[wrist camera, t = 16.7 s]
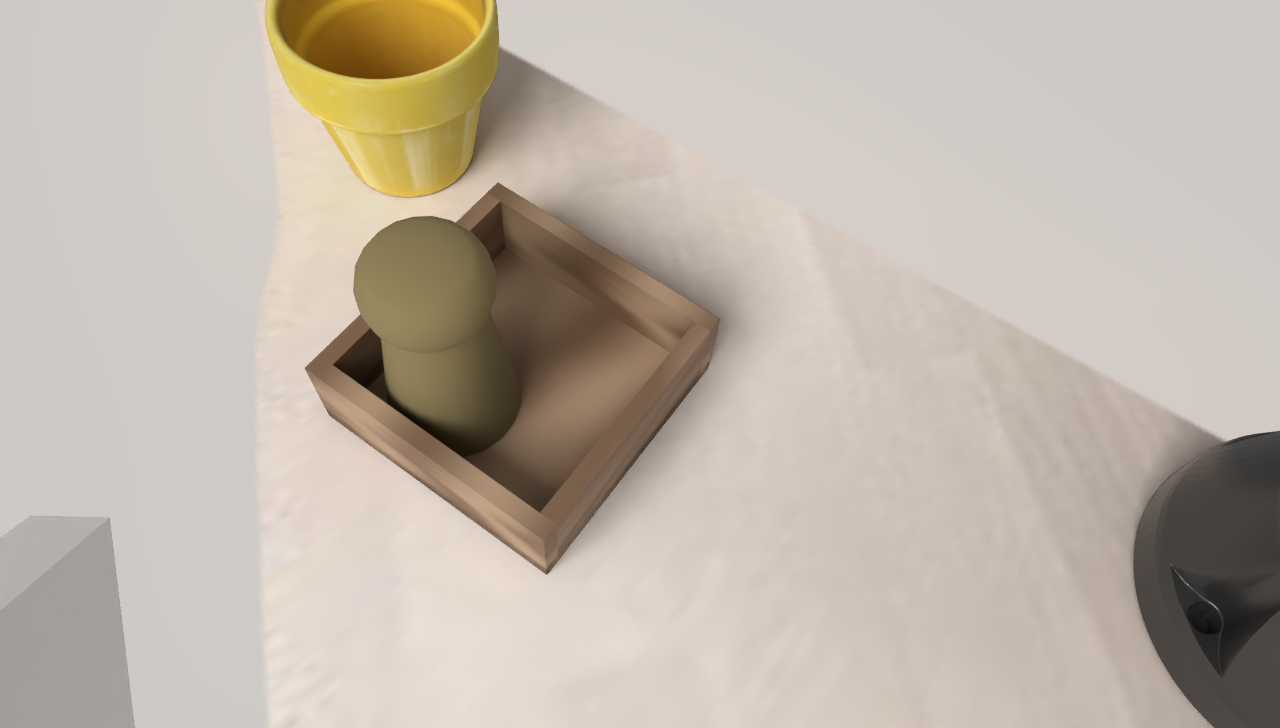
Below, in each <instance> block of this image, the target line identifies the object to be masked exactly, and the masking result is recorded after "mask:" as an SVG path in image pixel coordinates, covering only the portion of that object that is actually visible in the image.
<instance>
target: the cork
mask: <svg viewBox="0 0 1280 728" xmlns="http://www.w3.org/2000/svg"><path fill="white" fill-rule="evenodd" d="M353 292H354V295H355V299H356V302H357V305H358V308H359V311H360V313H361V316H362V318H363V319H364V320H365V322H366V323H367V324H368V325H369V326H370V328H371V329H372V330H373V331H374V333H375V334H377V335H378V336H379V337H380V338H381V343H382V353H383V362H384V372H385V381H386V391H387V400H388V405H389V406H391V407H392V408H394V409H395V410H396V411H398V412H399V413H401V414H402V415H403V416H405V417H406V418H408V419H409V420H410V421H412V422H413V423H415V424H416V425H417V426H419V427H420V428H422V429H423V430H424V431H426V432H427V433H429V434H430V435H431V436H433V437H434V438H436V439H437V440H438V441H440V442H441V443H443V444H444V445H445V446H447V447H448V448H450V449H451V450H452V451H454V452H455V453H457V454H458V455H459V456H461V457H467V456H470V455H473V454H476V453H479V452H482V451H484V450H486V449H488V448H489V447H491V446H492V445H494V444H495V443H496V442H498V441H499V440H501V439H502V438H503V437H504V436H505V434H506V433H507V432H508V430H509V429H510V428H511V427H512V425H513V424H514V423H515V421H516V418H517V415H518V412H519V409H520V406H521V385H520V382H519V380H518V377H517V375H516V372H515V370H514V367H513V365H512V363H511V360H510V358H509V355H508V353H507V351H506V348H505V346H504V343H503V341H502V339H501V336H500V334H499V331H498V329H497V327H496V324H495V322H494V320H493V317H492V315H491V309H492V307H493V304H494V301H495V298H496V273H495V267H494V265H493V263H492V260H491V258H490V255H489V253H488V251H487V249H486V248H485V246H484V245H483V244H482V242H481V241H480V240H479V239H478V238H477V237H476V236H475V235H474V234H473V233H472V232H471V231H469V230H467V229H466V228H464V227H462V226H460V225H458V224H456V223H455V222H453V221H450V220H447V219H442V218H438V217H433V216H424V217H411V218H407V219H404V220H400V221H397V222H394V223H393V224H391V225H389V226H387V227H386V228H384V229H382V230H381V231H379V232H378V233H377V234H376V235H375V236H374V237H373V238H372V239H371V240H370V242H369V243H368V244H367V245H366V246H365V247H364V249H363V250H362V253H361V255H360V257H359V259H358V261H357V263H356V265H355V275H354V290H353Z"/></svg>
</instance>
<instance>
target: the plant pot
mask: <svg viewBox="0 0 1280 728" xmlns="http://www.w3.org/2000/svg"><path fill="white" fill-rule="evenodd" d="M265 24H266V29H267V33H268V37H269V40H270V43H271V46H272V49H273V52H274V55H275V57H276V60H277V63H278V65H279V68H280V71H281V73H282V75H283V78H284V80H285V82H286V84H287V86H288V88H289V90H290V92H291V94H292V95H293V96H294V98H295V99H296V100H297V101H298V102H299V103H300V104H301V106H303V107H304V108H305V109H306V110H307V111H308V112H310V113H311V114H313V115H314V116H316V117H317V118H319V119H321V121H322V123H323V124H324V126H325V127H326V129H327V130H328V132H329V134H330V135H331V137H332V138H333V140H334V141H335V143H336V145H337V146H338V148H339V149H340V151H341V152H342V154H343V156H344V157H345V159H346V160H347V162H348V163H349V165H350V167H351V168H352V170H353V171H354V173H355V174H356V175H357V177H358V178H359V179H360V180H361V181H363V182H364V183H365V184H366V185H368V186H369V187H371V188H373V189H374V190H377V191H379V192H381V193H384V194H388V195H392V196H398V197H418V196H424V195H429V194H433V193H436V192H438V191H440V190H442V189H444V188H446V187H448V186H450V185H451V184H452V183H454V182H455V181H456V180H457V179H458V178H459V177H460V176H461V175H462V174H463V173H464V172H465V170H466V169H467V168H468V166H469V164H470V161H471V159H472V156H473V150H474V144H475V138H476V131H477V126H478V120H479V114H480V108H481V102H482V97H483V96H484V95H485V93H486V92H487V91H488V89H489V87H490V86H491V84H492V82H493V80H494V77H495V75H496V71H497V67H498V60H499V31H498V30H499V29H498V15H497V5H496V0H267V1H266V6H265Z"/></svg>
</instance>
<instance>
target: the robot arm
mask: <svg viewBox="0 0 1280 728" xmlns="http://www.w3.org/2000/svg"><path fill="white" fill-rule="evenodd" d="M1134 578H1135V586H1136V592H1137V597H1138V602H1139V606H1140V610H1141V613H1142V617H1143V620H1144V622H1145V625H1146V628H1147V631H1148V633H1149V635H1150V638H1151V640H1152V643H1153V645H1154V647H1155V649H1156V651H1157V653H1158V655H1159V657H1160V658H1161V660H1162V662H1163V664H1164V665H1165V667H1166V669H1167V670H1168V672H1169V673H1170V675H1171V676H1172V678H1173V680H1174V681H1175V683H1176V684H1177V685H1178V687H1179V688H1180V689H1181V691H1182V692H1183V693H1184V695H1185V696H1186V697H1187V698H1188V700H1189V701H1190V702H1191V703H1192V704H1193V706H1194V707H1195V708H1196V709H1197V710H1198V711H1199V712H1200V713H1201V714H1202V716H1203V717H1204V718H1205V719H1206V720H1207V721H1208V722H1209V723H1210V724H1211V725H1212V726H1213V727H1214V728H1280V431H1276V432H1268V433H1259V434H1253V435H1247V436H1243V437H1239V438H1236V439H1233V440H1230V441H1227V442H1225V443H1223V444H1220V445H1218V446H1216V447H1214V448H1212V449H1210V450H1208V451H1206V452H1205V453H1203V454H1202V455H1200V456H1199V457H1197V458H1196V459H1194V460H1193V461H1191V462H1190V463H1189V464H1187V465H1186V466H1184V467H1183V468H1181V469H1180V470H1179V471H1177V472H1176V473H1174V474H1173V475H1172V476H1171V477H1170V478H1168V479H1167V480H1166V481H1165V482H1164V483H1163V484H1162V485H1161V486H1160V488H1159V489H1158V490H1157V491H1156V493H1155V494H1154V495H1153V497H1152V499H1151V500H1150V502H1149V503H1148V505H1147V507H1146V509H1145V511H1144V514H1143V516H1142V519H1141V521H1140V524H1139V528H1138V531H1137V536H1136V541H1135V550H1134ZM0 728H135V726H134V718H133V709H132V701H131V692H130V684H129V675H128V667H127V659H126V652H125V642H124V634H123V626H122V618H121V609H120V600H119V593H118V584H117V575H116V567H115V559H114V550H113V543H112V534H111V525H110V518H107V517H105V518H104V517H62V516H30V517H28V518H27V519H25V520H24V521H23V522H21V523H20V524H19V525H17V526H16V527H15V528H13V529H12V530H10V531H9V532H8V533H6V534H5V535H4V536H2V537H1V538H0Z"/></svg>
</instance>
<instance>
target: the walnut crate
mask: <svg viewBox="0 0 1280 728" xmlns="http://www.w3.org/2000/svg"><path fill="white" fill-rule="evenodd" d="M456 224H458V225H460V226H462V227H464V228H466V229H467V230H469V231H471V232H472V233H473V234H474V235H475V236H476V237H477V238H478V239H479V240H480V241H481V242H482V244H483V245H484V246H485V248H486V249H487V251H488V253H489V255H490V258H491V260H492V263H493V265H494V267H495V273H496V298H495V301H494V304H493V307H492V309H491V315H492V317H493V320H494V322H495V324H496V327H497V329H498V331H499V334H500V336H501V339H502V341H503V343H504V346H505V348H506V351H507V353H508V355H509V358H510V360H511V363H512V365H513V367H514V370H515V372H516V375H517V377H518V380H519V382H520V385H521V406H520V409H519V412H518V415H517V418H516V421H515V423H514V424H513V425H512V427H511V428H510V429H509V430H508V432H507V433H506V434H505V436H504V437H503V438H502V439H501V440H499V441H498V442H496V443H495V444H494V445H492V446H491V447H489V448H488V449H486V450H484V451H482V452H479V453H476V454H473V455H470V456H467V457H461V456H459V455H458V454H457V453H455V452H454V451H452V450H451V449H450V448H448V447H447V446H445V445H444V444H443V443H441V442H440V441H438V440H437V439H436V438H434V437H433V436H431V435H430V434H429V433H427V432H426V431H424V430H423V429H422V428H420V427H419V426H417V425H416V424H415V423H413V422H412V421H410V420H409V419H408V418H406V417H405V416H403V415H402V414H401V413H399V412H398V411H396V410H395V409H394V408H392V407H391V406H389V405H388V400H387V391H386V381H385V372H384V362H383V353H382V343H381V338H380V337H379V336H378V335H377V334H375V333H374V331H373V330H372V329H371V328H370V326H369V325H368V324H367V323H366V322H365V320H364V319H363V318H362V316H361V314H360V315H359V316H358V317H357V318H356V319H355V320H354V321H353V322H352V323H351V324H350V325H349V326H348V327H347V328H346V329H345V330H344V331H343V332H342V333H341V334H340V335H339V336H338V337H337V338H335V339H334V340H333V341H332V342H331V343H330V344H329V345H328V346H327V347H326V348H325V349H324V350H323V351H322V352H321V353H320V354H319V355H318V356H317V357H316V358H315V359H314V360H313V361H312V362H310V363H309V364H308V365H307V366H306V367H305V370H306V372H307V374H308V376H309V378H310V379H311V381H312V383H313V385H314V387H315V389H316V391H317V393H318V395H319V397H320V398H321V400H322V402H323V404H324V406H325V408H326V410H327V412H328V414H329V416H331V417H332V418H334V419H335V420H336V421H338V422H339V423H340V424H342V425H343V426H344V427H346V428H347V429H349V430H350V431H351V432H353V433H354V434H355V435H357V436H358V437H359V438H361V439H362V440H364V441H365V442H366V443H368V444H369V445H370V446H372V447H373V448H374V449H376V450H377V451H379V452H380V453H381V454H383V455H384V456H385V457H387V458H388V459H390V460H391V461H392V462H394V463H395V464H396V465H398V466H399V467H400V468H402V469H403V470H405V471H406V472H407V473H409V474H410V475H411V476H413V477H414V478H415V479H417V480H418V481H420V482H421V483H422V484H424V485H425V486H426V487H428V488H429V489H430V490H432V491H433V492H435V493H436V494H437V495H439V496H440V497H441V498H443V499H444V500H446V501H447V502H448V503H450V504H451V505H452V506H454V507H455V508H456V509H458V510H459V511H461V512H462V513H463V514H465V515H466V516H467V517H469V518H470V519H471V520H473V521H474V522H476V523H477V524H478V525H480V526H481V527H482V528H484V529H485V530H486V531H488V532H489V533H491V534H492V535H493V536H495V537H496V538H497V539H499V540H500V541H502V542H503V543H504V544H506V545H507V546H508V547H510V548H511V549H512V550H514V551H515V552H517V553H518V554H519V555H521V556H522V557H523V558H525V559H526V560H527V561H529V562H530V563H532V564H533V565H534V566H536V567H537V568H538V569H540V570H541V571H542V572H544V573H545V574H548V573H549V571H550V570H551V569H552V567H553V566H554V565H555V564H556V562H557V561H558V560H559V558H560V557H561V556H562V555H563V553H564V552H565V551H566V549H567V548H568V547H569V546H570V544H571V543H572V542H573V540H574V539H575V538H576V537H577V535H578V534H579V533H580V531H581V530H582V529H583V528H584V526H585V525H586V524H587V523H588V521H589V520H590V519H591V517H592V516H593V515H594V514H595V512H596V511H597V510H598V508H599V507H600V506H601V505H602V503H603V502H604V501H605V499H606V498H607V497H608V496H609V494H610V493H611V492H612V490H613V489H614V488H615V487H616V485H617V484H618V483H619V481H620V480H621V479H622V478H623V476H624V475H625V474H626V472H627V471H628V470H629V469H630V467H631V466H632V465H633V464H634V462H635V461H636V460H637V458H638V457H639V456H640V455H641V453H642V452H643V451H644V449H645V448H646V447H647V446H648V444H649V443H650V442H651V440H652V439H653V438H654V437H655V435H656V434H657V433H658V431H659V430H660V429H661V428H662V426H663V425H664V424H665V422H666V421H667V420H668V419H669V417H670V416H671V415H672V413H673V412H674V411H675V410H676V408H677V407H678V406H679V404H680V403H681V402H682V401H683V399H684V398H685V397H686V396H687V394H688V393H689V392H690V390H691V389H692V388H693V387H694V385H695V384H696V383H697V381H698V380H699V379H700V378H701V376H702V375H703V374H704V372H705V371H706V370H707V369H708V365H709V361H710V357H711V353H712V349H713V345H714V341H715V337H716V333H717V329H718V325H719V321H720V319H719V318H717V317H716V316H714V315H712V314H711V313H709V312H708V311H706V310H704V309H703V308H701V307H699V306H698V305H696V304H695V303H693V302H691V301H690V300H688V299H686V298H685V297H683V296H682V295H680V294H678V293H677V292H675V291H673V290H672V289H670V288H669V287H667V286H665V285H664V284H662V283H660V282H659V281H657V280H656V279H654V278H652V277H651V276H649V275H647V274H646V273H644V272H643V271H641V270H639V269H638V268H636V267H634V266H633V265H631V264H630V263H628V262H626V261H625V260H623V259H621V258H620V257H618V256H617V255H615V254H613V253H612V252H610V251H608V250H607V249H605V248H604V247H602V246H600V245H599V244H597V243H595V242H594V241H592V240H591V239H589V238H587V237H586V236H584V235H582V234H581V233H579V232H578V231H576V230H574V229H573V228H571V227H569V226H568V225H566V224H565V223H563V222H561V221H560V220H558V219H556V218H555V217H553V216H552V215H550V214H548V213H547V212H545V211H543V210H542V209H540V208H539V207H537V206H535V205H534V204H532V203H530V202H529V201H527V200H526V199H524V198H522V197H521V196H519V195H517V194H516V193H514V192H513V191H511V190H509V189H508V188H506V187H504V186H503V185H501V184H500V183H497V184H496V185H495V186H494V187H493V188H492V189H490V190H489V191H488V192H487V193H486V194H485V195H484V196H483V197H482V198H481V199H480V200H479V201H478V202H477V203H476V204H475V205H474V206H473V207H472V208H471V209H470V210H469V211H468V212H467V213H466V214H464V215H463V216H462V217H461V218H460V219H459V220H458V221H457V222H456Z"/></svg>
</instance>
